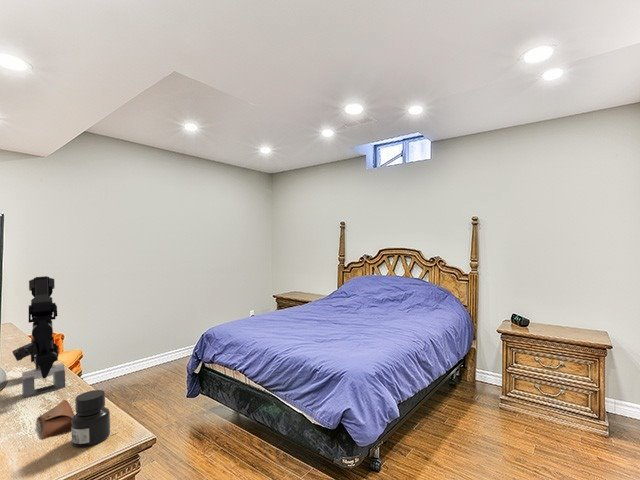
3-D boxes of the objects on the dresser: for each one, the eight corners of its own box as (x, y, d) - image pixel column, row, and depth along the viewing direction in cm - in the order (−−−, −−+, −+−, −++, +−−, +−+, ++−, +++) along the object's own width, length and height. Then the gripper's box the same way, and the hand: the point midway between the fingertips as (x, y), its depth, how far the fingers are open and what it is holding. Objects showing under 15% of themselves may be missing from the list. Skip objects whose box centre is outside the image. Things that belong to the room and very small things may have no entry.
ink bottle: (67, 439, 96) (66, 395, 96) (103, 426, 103) (102, 385, 103) (77, 453, 90) (76, 406, 90) (115, 438, 96) (114, 394, 96)
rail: (22, 380, 126) (22, 372, 126) (63, 370, 134) (63, 363, 134) (23, 382, 124) (22, 374, 124) (64, 372, 132) (64, 365, 132)
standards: (22, 394, 127) (22, 376, 127) (63, 383, 135) (62, 367, 135) (23, 397, 123) (23, 380, 123) (65, 387, 132) (64, 370, 132)
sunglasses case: (35, 417, 109) (48, 395, 111) (59, 421, 113) (72, 400, 115) (41, 440, 96) (56, 415, 98) (68, 444, 100) (82, 419, 102)
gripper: (11, 335, 130) (13, 377, 130) (16, 344, 117) (17, 391, 117) (49, 329, 138) (50, 368, 138) (57, 337, 125) (58, 381, 125)
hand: (44, 377), depth 129 cm, fingers closed on rail, 3 cm apart
